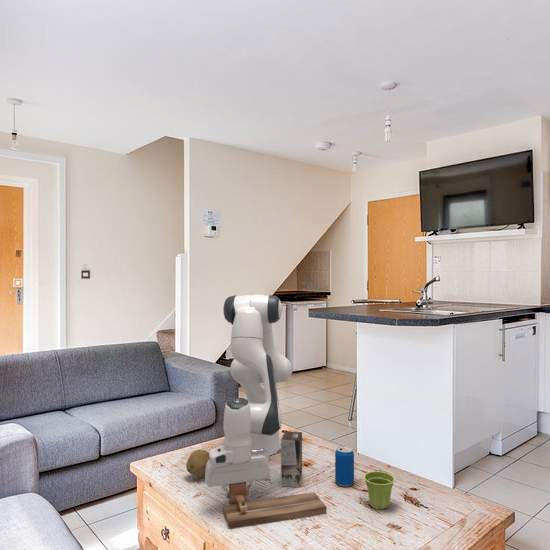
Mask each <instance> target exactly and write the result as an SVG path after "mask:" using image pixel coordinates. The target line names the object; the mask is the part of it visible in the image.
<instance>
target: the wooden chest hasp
mask: <svg viewBox="0 0 550 550" xmlns="http://www.w3.org/2000/svg"><path fill="white" fill-rule="evenodd" d="M247 483H248V482H243V483H235V484H228V490H230V498H228V504H235V503H237V504H238V506H239V508H240V511H241V512H244V511H248V506H247V504H246V502H248V501H247V498H248V497H247V496H248V495H247V487H248V485H247Z"/></svg>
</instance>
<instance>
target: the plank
mask: <svg viewBox="0 0 550 550" xmlns="http://www.w3.org/2000/svg"><path fill="white" fill-rule="evenodd" d="M246 504H247V506H248V511H244V512H241V511H240V508H239V506H238V504H237V503H235V504H229V503H228V504H223V505H222V513H223V515H224V518H225V522H226V524H227V528H228V530H231V529H238V528H242V527H243V528H244V526H245V527H249V526H256V525H263V524H268V523H275V522H281V521H288V520H293V519H299V518H306V517H313V516H318V515H319V516H320V515H326V514H327V506H326V505H325V503H324V502H323V500H322V499H321V498H320V497H319V496H318V494H316V492H315V491H313V492H305V493H299V494H298V493H297V494H292V495H285V496H279V497H277V496H276V497H271V498H263V499H257V500H251V501H247V502H246Z"/></svg>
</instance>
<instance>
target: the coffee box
mask: <svg viewBox="0 0 550 550" xmlns="http://www.w3.org/2000/svg"><path fill="white" fill-rule="evenodd" d="M281 437H282V438H281V439H280V443H281V449H280V451H281V452H280V486H281V487H291V488H299V486H300V484H301V481H302V478H303V432H301V431H285V432H284V433H283V435H282V436H281Z"/></svg>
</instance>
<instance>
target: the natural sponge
mask: <svg viewBox="0 0 550 550" xmlns="http://www.w3.org/2000/svg"><path fill="white" fill-rule="evenodd" d="M209 459H210V458H209V451H207V450H206V449H197V450H194V451H193V452H191V453H190V455H189V456H188V459H187V461H186V464H185V467H186V471H187V472H188V473H189V474H191V475H193V476H195V477H197V478H198V479H203V478H205V471H206V464H207V462H208V460H209Z"/></svg>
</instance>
